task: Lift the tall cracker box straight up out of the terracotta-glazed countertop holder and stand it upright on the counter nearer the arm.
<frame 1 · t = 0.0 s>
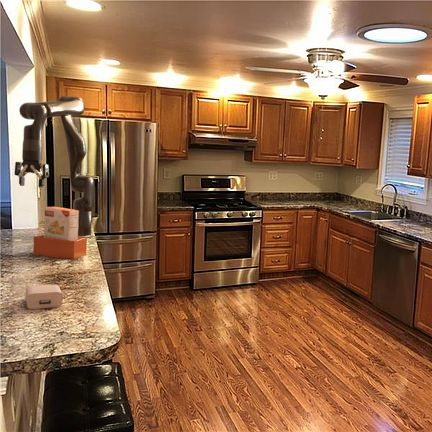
hand: (31, 186, 204), 29 cm above the countertop, tool pointing down, fingers open, 8 cm apart
holder: (60, 254, 207), on the countertop
charger: (42, 301, 145), on the countertop
cracker box: (60, 255, 207), resting in holder
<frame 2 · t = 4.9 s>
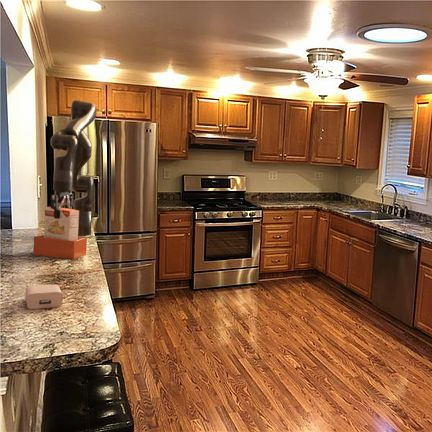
hand: (61, 217, 205), 17 cm above the countertop, tool pointing down, fingers closed on cracker box, 6 cm apart
cracker box: (60, 255, 207), resting in holder, touching gripper
everything else where it was.
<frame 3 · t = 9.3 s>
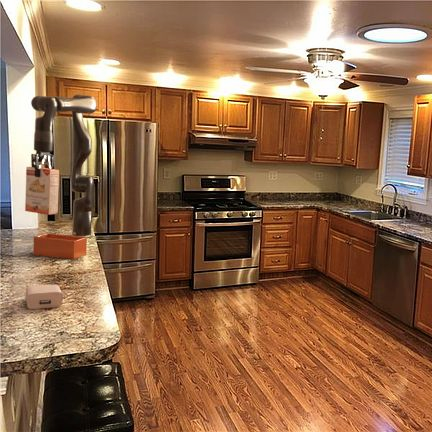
hand: (42, 176, 214), 33 cm above the countertop, tool pointing down, fingers closed on cracker box, 6 cm apart
cracker box: (41, 213, 215), point 16 cm above the countertop, touching gripper
everything else where it was.
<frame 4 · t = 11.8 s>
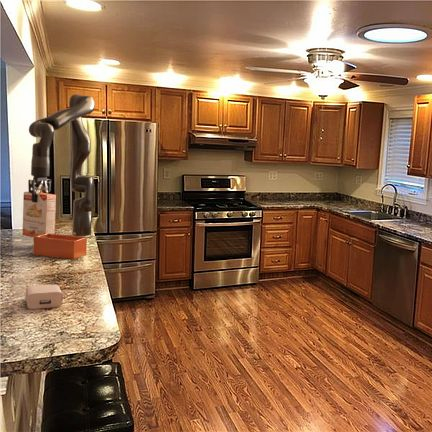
hand: (39, 201, 216), 22 cm above the countertop, tool pointing down, fingers closed on cracker box, 6 cm apart
cracker box: (38, 237, 218), point 5 cm above the countertop, touching gripper
everything else where it was.
when the fingers open (17 cm above the countertop, at t = 13.5 s): cracker box stays where it is, on the countertop.
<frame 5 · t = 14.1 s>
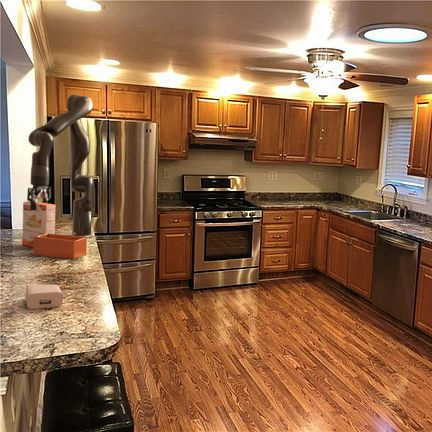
hand: (38, 209, 216), 18 cm above the countertop, tool pointing down, fingers open, 8 cm apart
cracker box: (38, 247, 218), on the countertop
everything else where it was.
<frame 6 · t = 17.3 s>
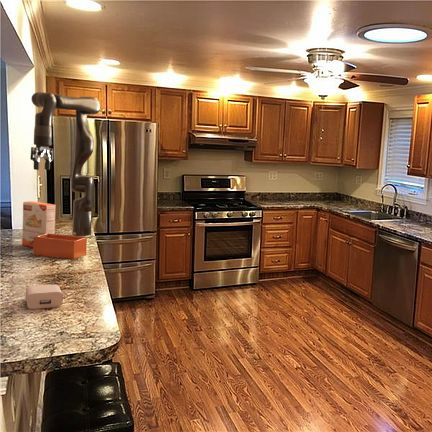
hand: (41, 169, 220), 36 cm above the countertop, tool pointing down, fingers open, 8 cm apart
nothing on the countertop moved.
at the end: cracker box inside the target area (0.2 cm from its centre), on the countertop; cracker box tilted 0°; the gripper is holding nothing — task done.
